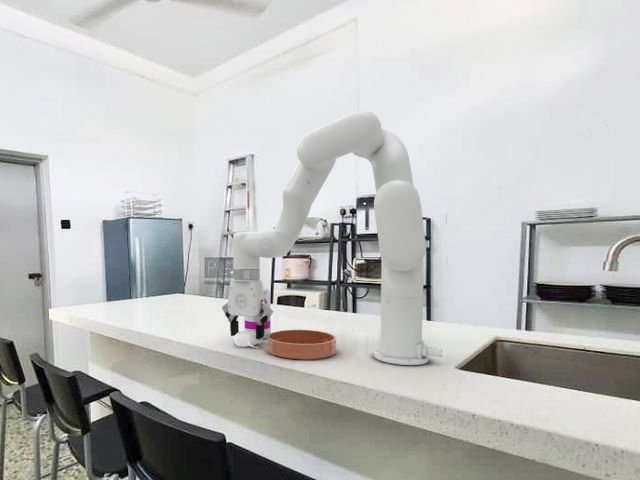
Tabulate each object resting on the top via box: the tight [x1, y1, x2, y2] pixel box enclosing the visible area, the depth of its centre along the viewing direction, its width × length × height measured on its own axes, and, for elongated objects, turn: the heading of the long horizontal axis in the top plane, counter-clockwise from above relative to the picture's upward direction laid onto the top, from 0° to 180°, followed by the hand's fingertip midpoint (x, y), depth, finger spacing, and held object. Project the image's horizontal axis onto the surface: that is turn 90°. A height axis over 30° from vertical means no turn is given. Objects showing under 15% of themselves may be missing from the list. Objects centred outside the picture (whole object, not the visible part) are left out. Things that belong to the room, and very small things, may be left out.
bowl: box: [266, 329, 337, 361], centre depth 105 cm, size 18×18×4 cm
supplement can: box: [243, 287, 272, 340], centre depth 123 cm, size 8×8×15 cm
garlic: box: [233, 330, 263, 349], centre depth 112 cm, size 8×7×4 cm
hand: (246, 336), depth 112 cm, fingers closed on garlic, 7 cm apart
